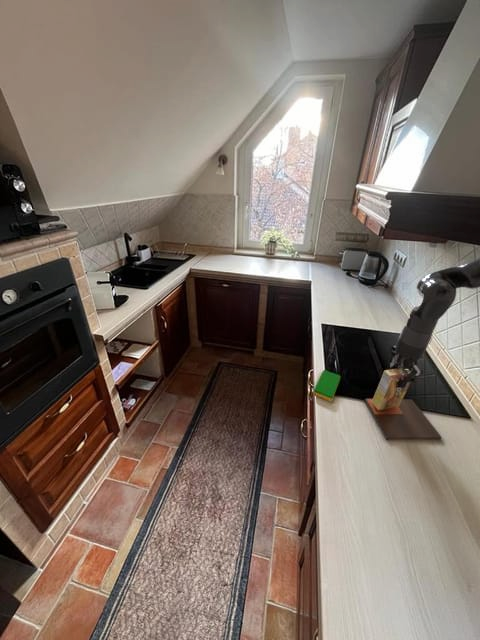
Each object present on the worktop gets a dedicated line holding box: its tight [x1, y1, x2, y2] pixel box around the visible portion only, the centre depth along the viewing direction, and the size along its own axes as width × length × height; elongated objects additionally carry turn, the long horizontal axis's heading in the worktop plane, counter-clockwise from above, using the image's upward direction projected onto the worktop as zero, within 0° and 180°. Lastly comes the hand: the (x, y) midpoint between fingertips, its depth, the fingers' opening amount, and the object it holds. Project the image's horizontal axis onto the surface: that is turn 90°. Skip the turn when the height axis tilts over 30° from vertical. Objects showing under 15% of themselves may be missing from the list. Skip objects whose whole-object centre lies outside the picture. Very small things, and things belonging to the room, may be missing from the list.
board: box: [364, 398, 443, 440], centre depth 88 cm, size 18×16×1 cm
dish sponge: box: [312, 369, 342, 402], centre depth 100 cm, size 7×14×2 cm, turn 149°
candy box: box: [372, 367, 412, 410], centre depth 88 cm, size 9×4×15 cm, turn 104°
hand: (395, 381), depth 86 cm, fingers closed on candy box, 4 cm apart
